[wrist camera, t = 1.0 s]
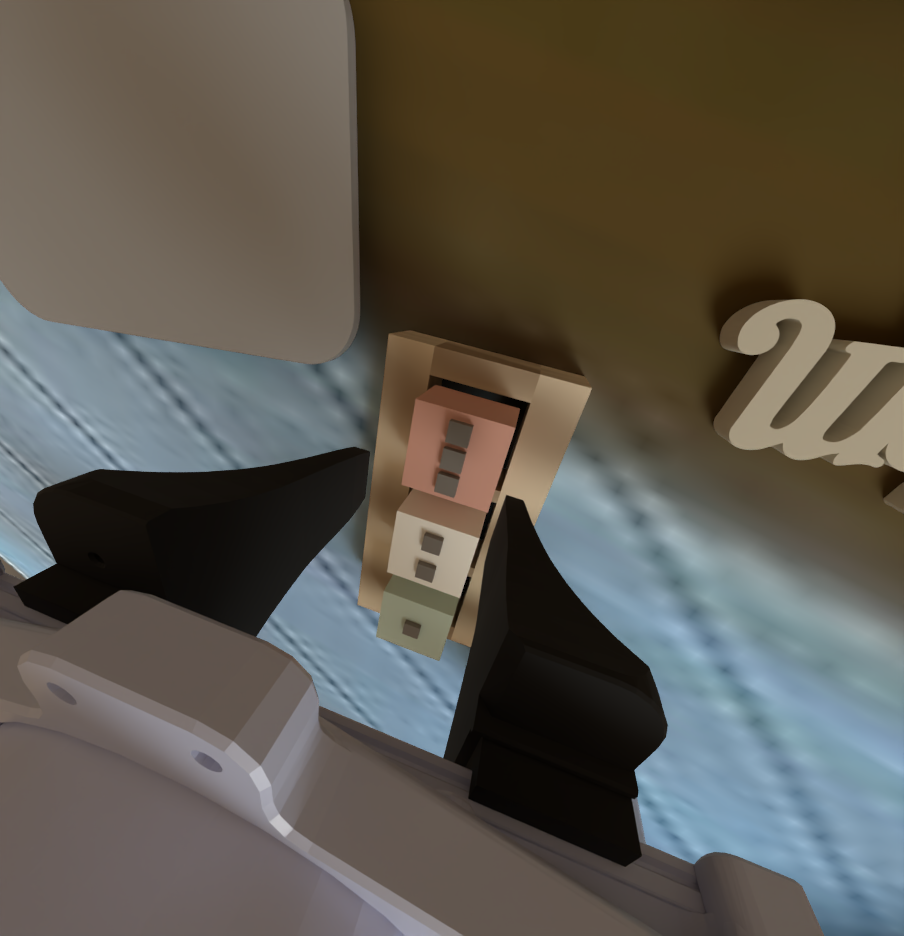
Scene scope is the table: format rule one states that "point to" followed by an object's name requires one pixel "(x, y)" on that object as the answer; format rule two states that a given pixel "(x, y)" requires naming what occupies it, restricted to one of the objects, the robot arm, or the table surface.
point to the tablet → (183, 170)
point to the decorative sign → (814, 390)
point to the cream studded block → (435, 541)
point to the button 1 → (416, 616)
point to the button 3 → (458, 446)
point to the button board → (526, 477)
